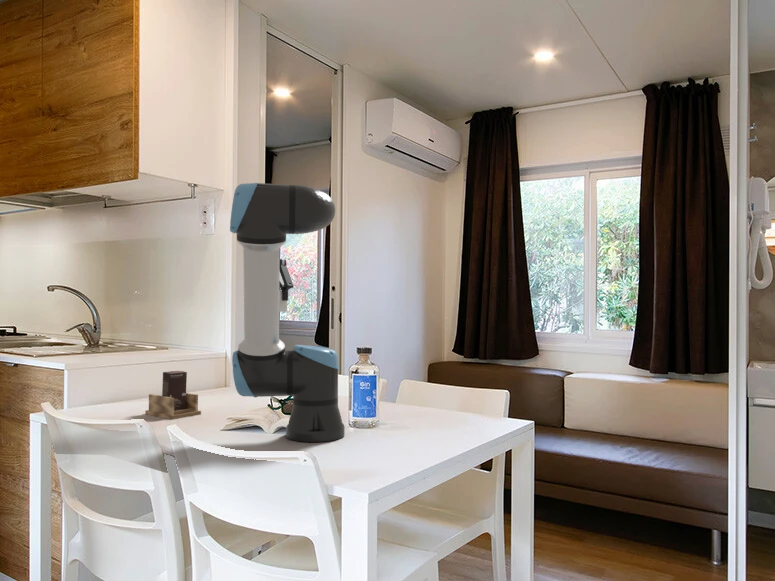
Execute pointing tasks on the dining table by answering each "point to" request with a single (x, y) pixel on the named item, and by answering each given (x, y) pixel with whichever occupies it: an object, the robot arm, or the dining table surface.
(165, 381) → the box
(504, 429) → the dining table surface
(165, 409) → the holder
